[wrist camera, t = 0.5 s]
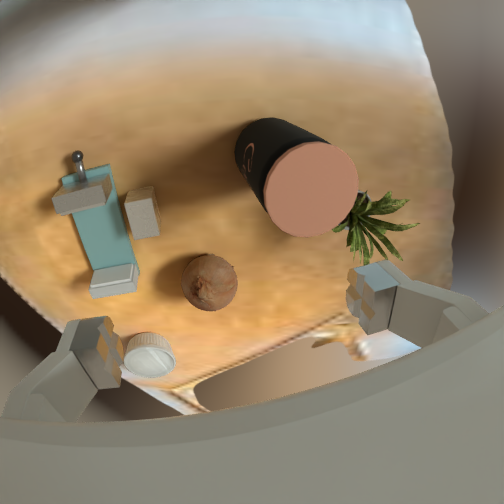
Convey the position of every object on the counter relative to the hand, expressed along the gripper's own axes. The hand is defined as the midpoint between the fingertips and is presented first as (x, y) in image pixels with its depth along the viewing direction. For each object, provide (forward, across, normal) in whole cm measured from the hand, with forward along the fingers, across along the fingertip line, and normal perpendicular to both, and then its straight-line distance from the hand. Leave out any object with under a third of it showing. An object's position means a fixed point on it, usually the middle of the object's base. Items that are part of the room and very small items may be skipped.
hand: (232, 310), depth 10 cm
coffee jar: (+38, -11, +1) cm, 40 cm away
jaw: (+36, +17, -1) cm, 40 cm away
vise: (+38, +17, +9) cm, 43 cm away
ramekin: (+42, +18, +39) cm, 60 cm away
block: (+38, +9, +7) cm, 40 cm away
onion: (+40, +2, +21) cm, 45 cm away
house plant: (+40, -24, +12) cm, 48 cm away
